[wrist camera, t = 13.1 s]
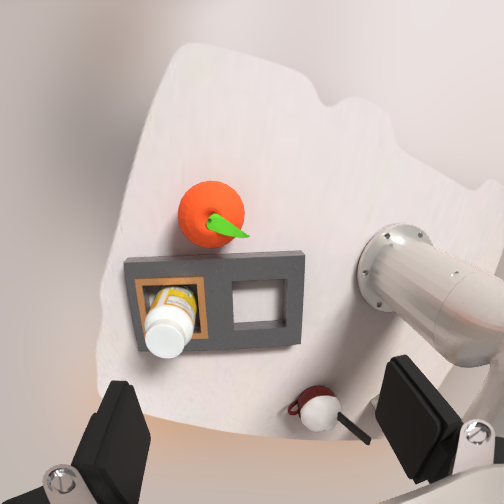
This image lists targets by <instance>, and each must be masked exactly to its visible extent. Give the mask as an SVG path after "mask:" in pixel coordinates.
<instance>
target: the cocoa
mask: <svg viewBox="0 0 504 504" xmlns="http://www.w3.org/2000/svg"><path fill="white" fill-rule="evenodd" d="M296 404H298V410H297V411H294V412H292V411H290V410H291V408H292V407H294V406H295V405H296ZM288 413H289V414H290V415H296V414H299V417H300V418H301V421H302V422H303V424H304V425H305V426H306V427H307V428H308V429H309V430H310V431H313V432H320V431H324V430H331V429H332V428H334V427H335V425H336V424H337V421H340V422H341V423H342V424H343V425H344V426H345V427H346V428H348V429H349V430H350V431H351V432H352V433H353V434H355V435H356V436H357V437H358V438H359V439H360V440H362V441H363V442H364V443H365V444H366V445H369V444H370V441H371V437H369V436H368V435H367V434H366V433H365V432H363V431H362V430H361V429H360V428H359V427H357V426H356V425H355V424H354V423H353V422H351V421H350V420H349V419H348V418H347V417H345V416H344V415H343V414H342V408H341V404H340V402H339V401H338V399H337V398H336V396H335V395H334V393H333V392H332V391H331V390H330V389H329V388H326V387H324V386H313V387H310V388H308V389H306V390H305V391H304V392H303V393H302V394H301V396H300V397H299V399H298V400H296V401H295V402H293V403H292V404H291V405H290V406H289V408H288Z"/></svg>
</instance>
